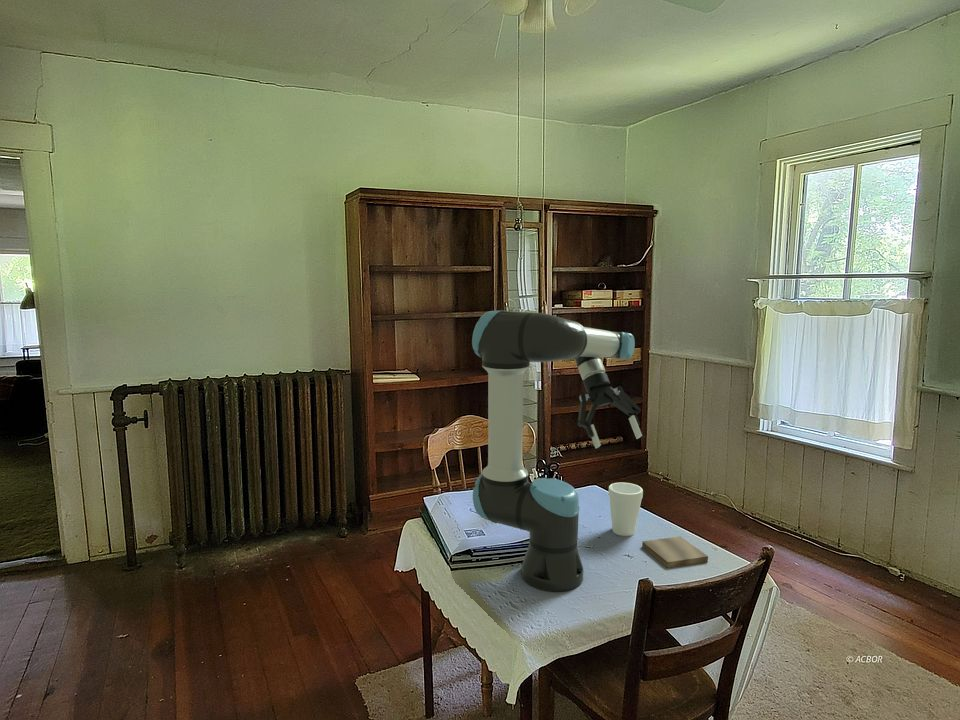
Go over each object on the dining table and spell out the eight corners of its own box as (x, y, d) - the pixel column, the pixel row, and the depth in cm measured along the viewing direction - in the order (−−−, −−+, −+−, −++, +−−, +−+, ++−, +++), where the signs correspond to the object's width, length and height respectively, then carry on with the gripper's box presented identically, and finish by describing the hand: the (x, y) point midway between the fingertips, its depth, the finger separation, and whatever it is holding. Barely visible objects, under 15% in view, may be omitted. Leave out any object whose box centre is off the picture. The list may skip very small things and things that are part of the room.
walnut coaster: (667, 567, 153) (667, 562, 153) (642, 546, 164) (642, 541, 164) (707, 561, 156) (708, 556, 156) (680, 541, 168) (680, 536, 167)
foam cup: (643, 538, 169) (646, 494, 167) (610, 538, 169) (612, 494, 167) (635, 524, 178) (638, 482, 176) (604, 523, 178) (606, 482, 176)
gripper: (625, 374, 190) (650, 437, 182) (553, 389, 183) (576, 454, 175) (635, 364, 183) (661, 429, 175) (560, 379, 177) (584, 447, 169)
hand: (619, 442), depth 175 cm, fingers open, 13 cm apart
